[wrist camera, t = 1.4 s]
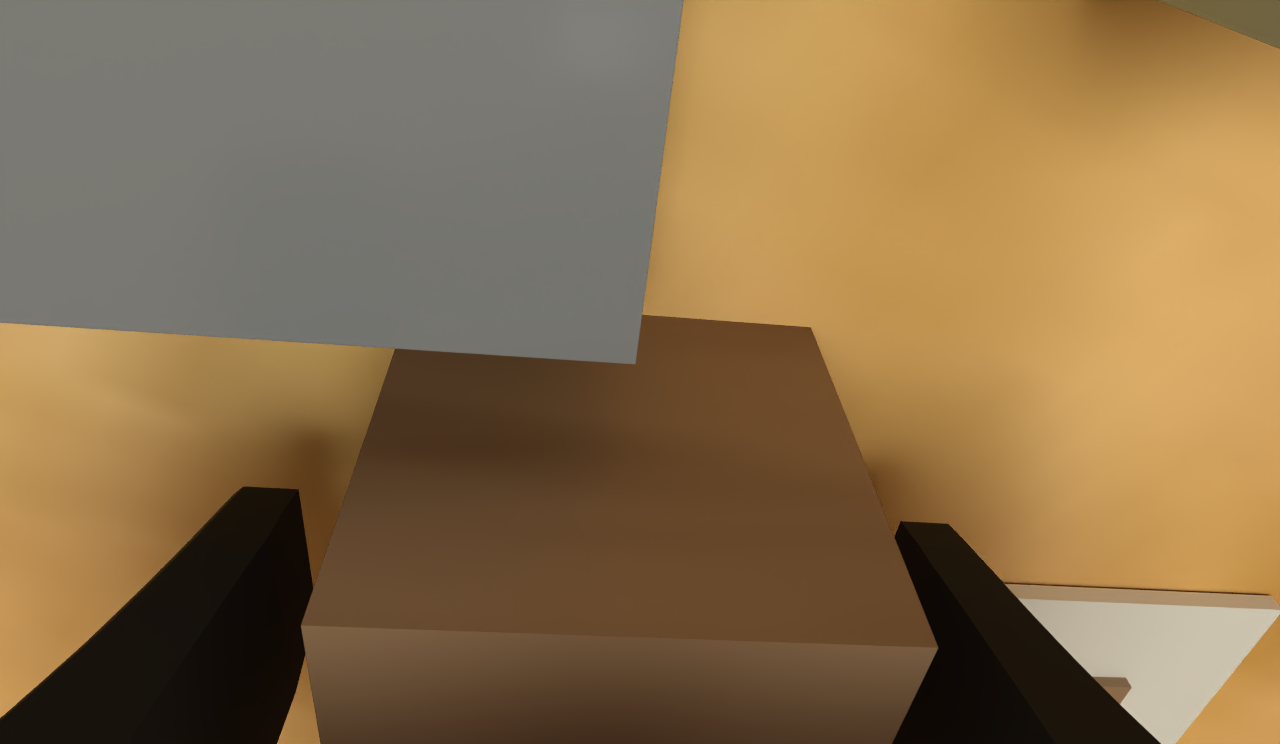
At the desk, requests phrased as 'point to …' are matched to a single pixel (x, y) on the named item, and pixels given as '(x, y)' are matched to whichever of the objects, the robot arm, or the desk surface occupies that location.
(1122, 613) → the placard
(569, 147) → the slate slab
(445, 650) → the walnut block
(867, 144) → the desk surface
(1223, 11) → the sage block
